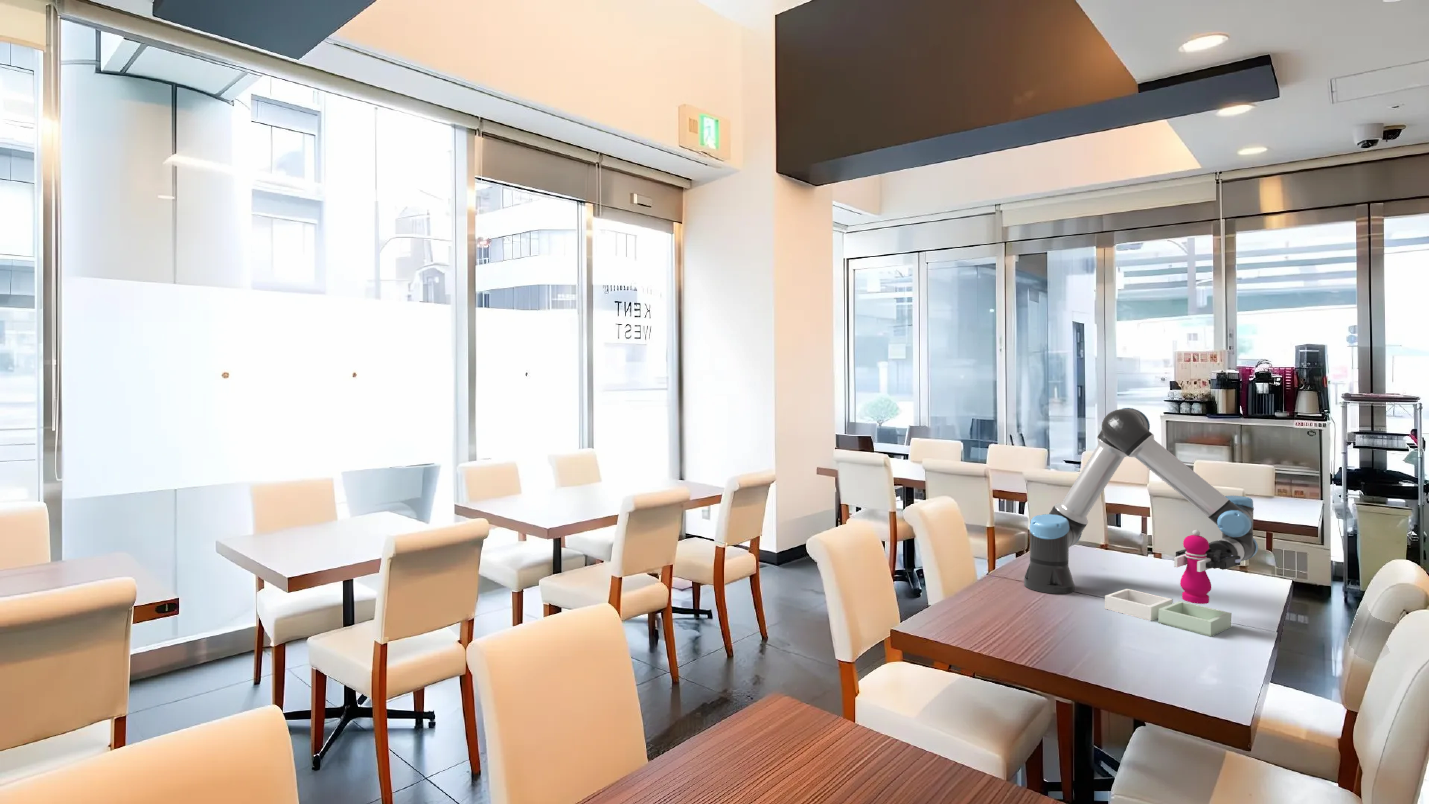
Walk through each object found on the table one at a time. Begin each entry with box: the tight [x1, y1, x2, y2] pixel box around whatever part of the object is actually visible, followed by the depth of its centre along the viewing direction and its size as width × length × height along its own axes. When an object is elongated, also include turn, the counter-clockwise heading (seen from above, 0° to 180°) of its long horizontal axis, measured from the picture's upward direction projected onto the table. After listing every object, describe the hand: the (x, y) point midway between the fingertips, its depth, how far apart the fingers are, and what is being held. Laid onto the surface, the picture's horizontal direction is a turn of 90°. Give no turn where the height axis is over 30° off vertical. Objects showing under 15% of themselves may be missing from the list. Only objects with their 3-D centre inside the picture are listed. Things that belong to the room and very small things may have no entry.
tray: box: [1157, 600, 1232, 637], centre depth 197 cm, size 13×13×4 cm
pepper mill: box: [1179, 529, 1212, 605], centre depth 197 cm, size 7×7×20 cm
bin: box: [1104, 588, 1173, 622], centre depth 210 cm, size 13×13×4 cm
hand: (1187, 564), depth 194 cm, fingers closed on pepper mill, 5 cm apart
